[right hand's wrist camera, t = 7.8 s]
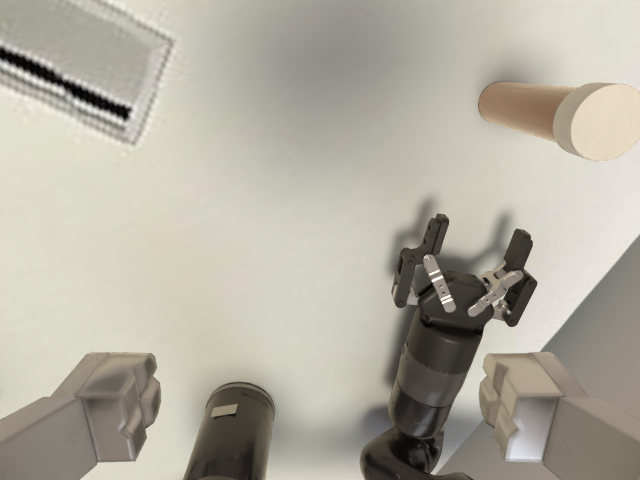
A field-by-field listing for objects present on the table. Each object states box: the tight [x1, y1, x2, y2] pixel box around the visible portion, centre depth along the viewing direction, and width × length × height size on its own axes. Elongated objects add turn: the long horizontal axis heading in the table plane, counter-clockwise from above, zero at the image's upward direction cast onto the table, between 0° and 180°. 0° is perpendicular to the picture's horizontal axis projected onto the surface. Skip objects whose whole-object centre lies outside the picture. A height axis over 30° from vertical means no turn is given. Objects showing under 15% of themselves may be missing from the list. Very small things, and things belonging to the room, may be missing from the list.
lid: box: [553, 83, 640, 161], centre depth 29 cm, size 5×5×2 cm
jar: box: [478, 82, 579, 143], centre depth 36 cm, size 4×4×18 cm
